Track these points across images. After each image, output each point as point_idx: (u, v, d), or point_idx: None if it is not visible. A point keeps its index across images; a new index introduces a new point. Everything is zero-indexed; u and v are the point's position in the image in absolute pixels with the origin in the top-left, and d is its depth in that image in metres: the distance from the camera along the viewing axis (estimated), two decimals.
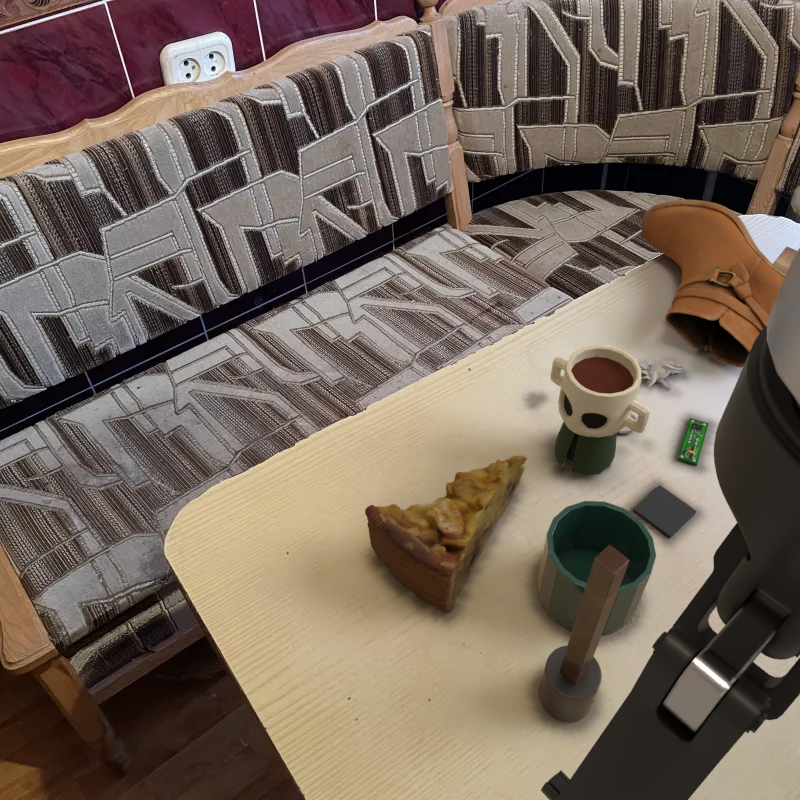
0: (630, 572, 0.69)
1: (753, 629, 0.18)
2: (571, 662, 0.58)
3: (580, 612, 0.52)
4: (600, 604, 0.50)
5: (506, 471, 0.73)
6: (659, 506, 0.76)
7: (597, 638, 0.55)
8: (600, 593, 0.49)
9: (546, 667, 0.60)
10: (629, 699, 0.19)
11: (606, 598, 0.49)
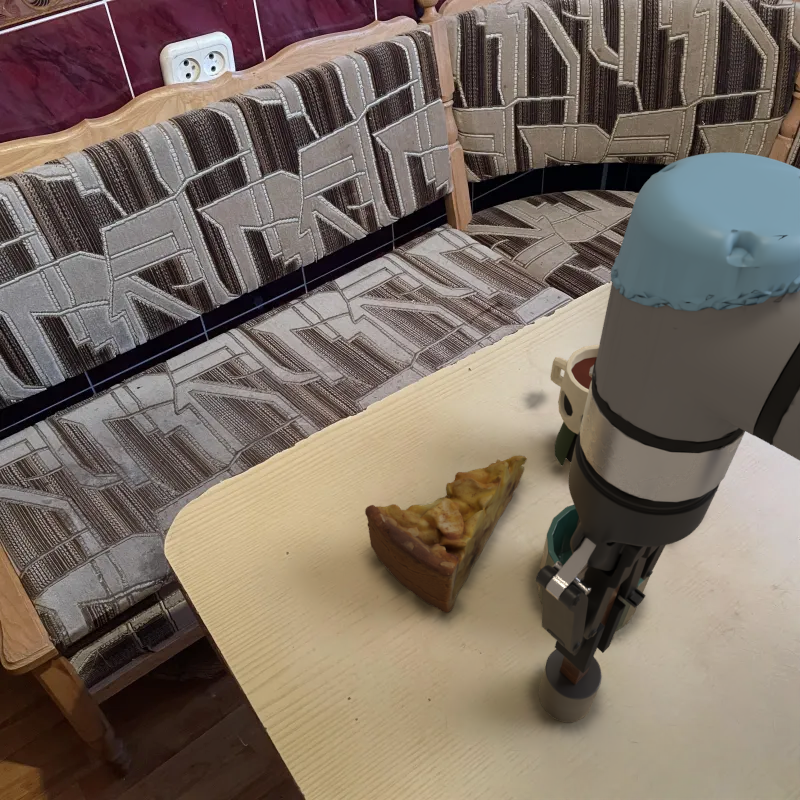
0: None
1: (577, 562, 0.42)
2: None
3: None
4: None
5: (506, 471, 0.73)
6: None
7: None
8: None
9: (546, 667, 0.60)
10: (543, 587, 0.44)
11: None
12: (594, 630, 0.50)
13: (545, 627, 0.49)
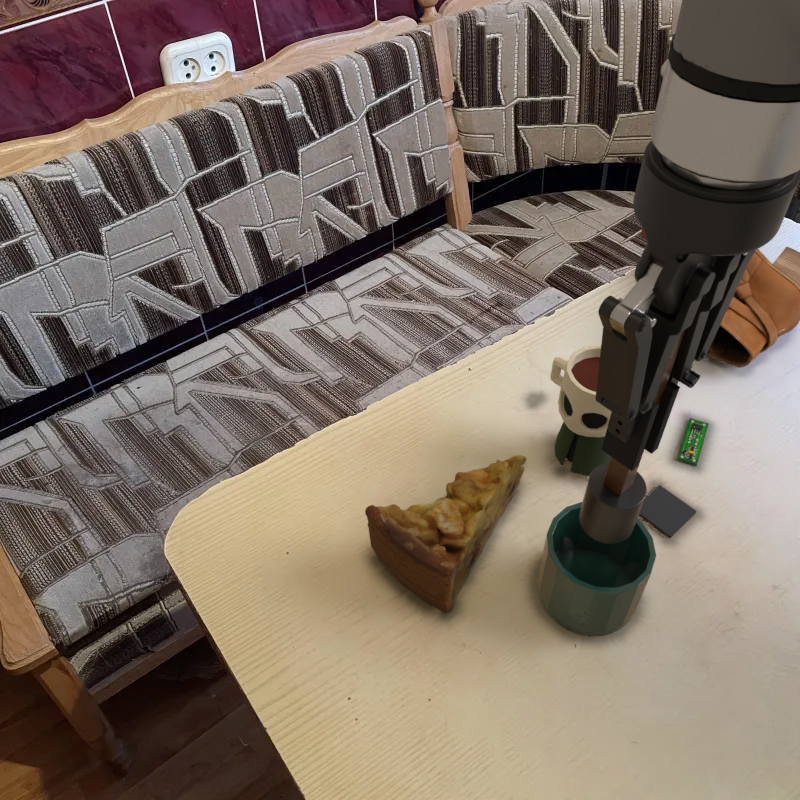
0: (630, 572, 0.69)
1: (643, 288, 0.40)
2: (617, 467, 0.56)
3: None
4: None
5: (506, 471, 0.72)
6: (659, 506, 0.76)
7: None
8: None
9: (589, 481, 0.59)
10: (604, 330, 0.43)
11: None
12: (649, 403, 0.48)
13: (599, 397, 0.47)
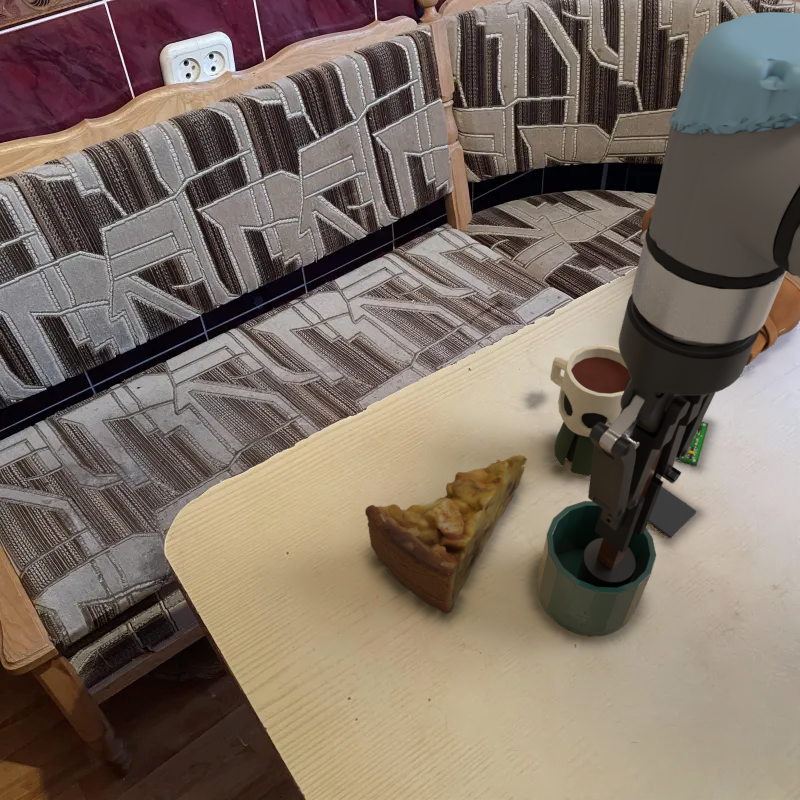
0: None
1: (627, 417, 0.46)
2: (609, 546, 0.62)
3: None
4: None
5: (506, 471, 0.72)
6: (659, 506, 0.76)
7: None
8: None
9: (584, 555, 0.65)
10: (594, 447, 0.49)
11: None
12: (636, 500, 0.54)
13: (591, 496, 0.54)
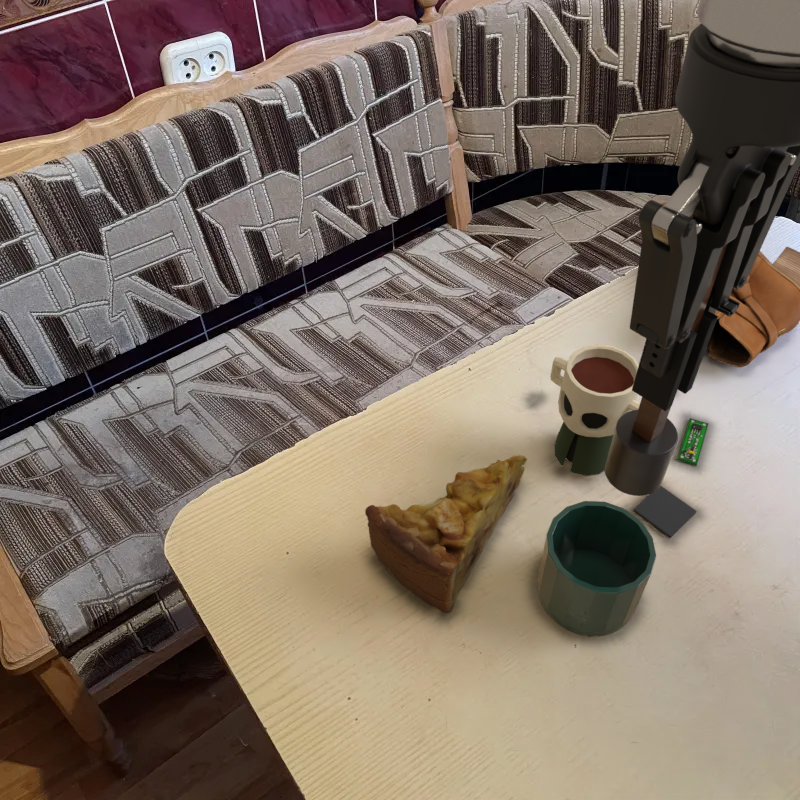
0: (630, 572, 0.69)
1: (688, 189, 0.37)
2: (648, 410, 0.53)
3: None
4: None
5: (506, 471, 0.72)
6: (659, 506, 0.76)
7: None
8: None
9: (617, 428, 0.55)
10: (643, 241, 0.39)
11: None
12: (688, 330, 0.45)
13: (634, 324, 0.44)
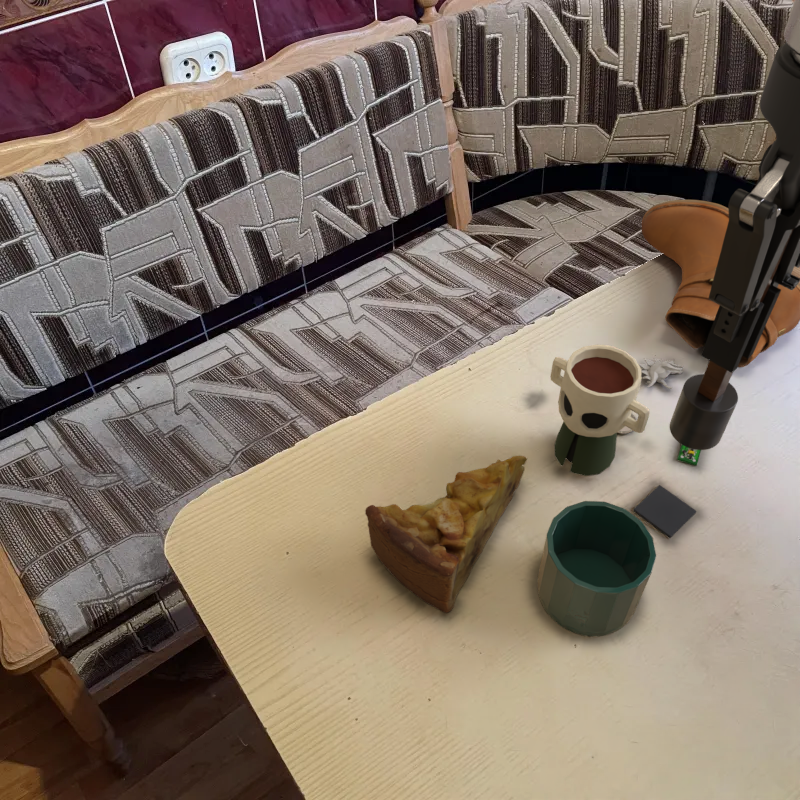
0: (630, 572, 0.69)
1: (771, 180, 0.45)
2: (714, 372, 0.61)
3: None
4: None
5: (506, 471, 0.72)
6: (659, 506, 0.76)
7: None
8: None
9: (684, 389, 0.63)
10: (729, 223, 0.48)
11: None
12: (758, 300, 0.53)
13: (713, 294, 0.52)
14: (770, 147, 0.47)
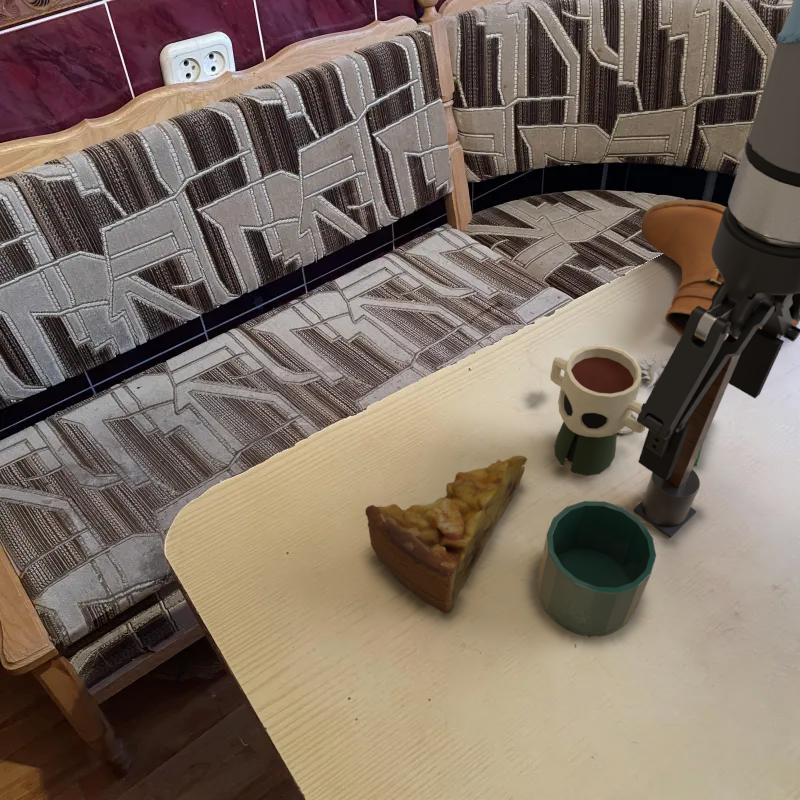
0: (630, 572, 0.69)
1: (725, 307, 0.52)
2: (678, 464, 0.70)
3: None
4: (714, 392, 0.62)
5: (506, 471, 0.72)
6: None
7: (704, 436, 0.67)
8: (716, 381, 0.61)
9: (653, 476, 0.72)
10: (681, 338, 0.53)
11: (720, 385, 0.61)
12: (684, 423, 0.57)
13: (644, 414, 0.56)
14: None
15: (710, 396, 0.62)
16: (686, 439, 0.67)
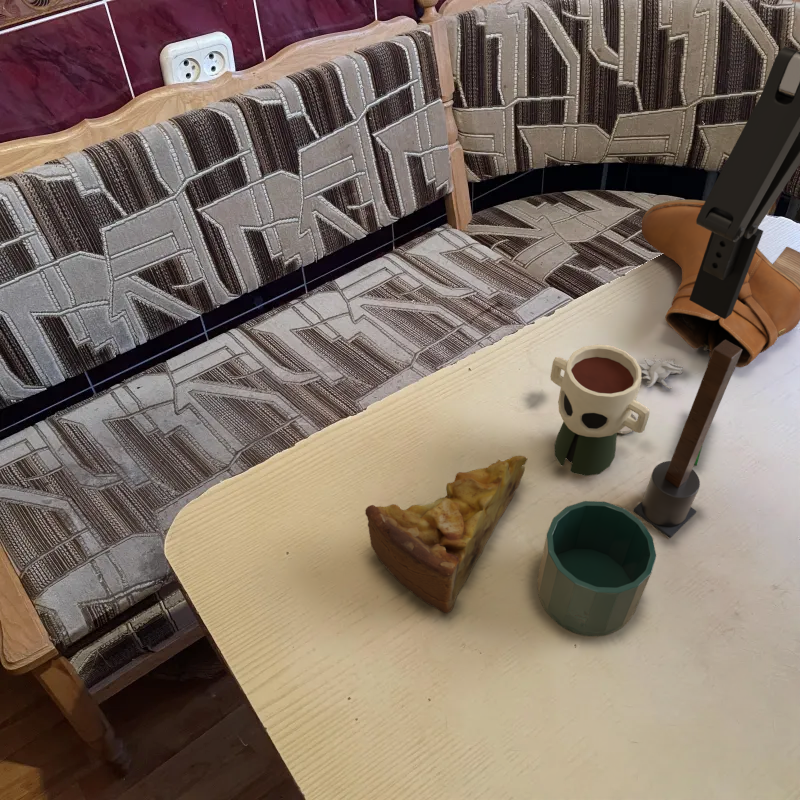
0: (630, 572, 0.69)
1: None
2: (678, 464, 0.70)
3: (693, 408, 0.64)
4: (714, 392, 0.62)
5: (506, 471, 0.72)
6: None
7: (704, 436, 0.67)
8: (716, 381, 0.61)
9: (653, 476, 0.72)
10: (761, 97, 0.40)
11: (720, 385, 0.61)
12: (757, 225, 0.44)
13: (706, 210, 0.43)
14: None
15: (710, 396, 0.62)
16: (686, 439, 0.67)
